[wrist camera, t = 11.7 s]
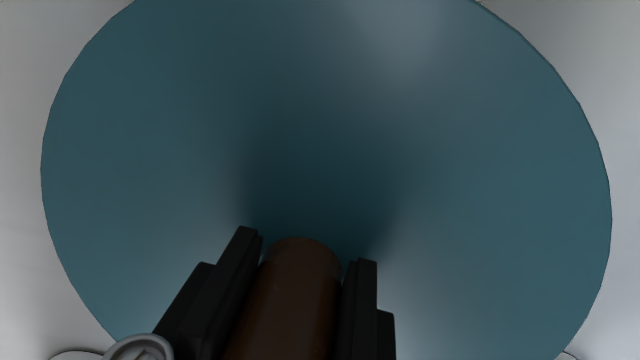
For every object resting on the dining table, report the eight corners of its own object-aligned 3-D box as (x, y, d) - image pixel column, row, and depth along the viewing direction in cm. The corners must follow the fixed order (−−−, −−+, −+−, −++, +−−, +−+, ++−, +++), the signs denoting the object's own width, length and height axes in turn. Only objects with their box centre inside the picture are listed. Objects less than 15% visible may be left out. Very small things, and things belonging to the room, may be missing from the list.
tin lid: (-29, 157, 13) (-319, 273, 8) (433, -239, 7) (593, -902, 2) (257, 443, 19) (206, 633, 13) (659, 341, 13) (875, 609, 7)
